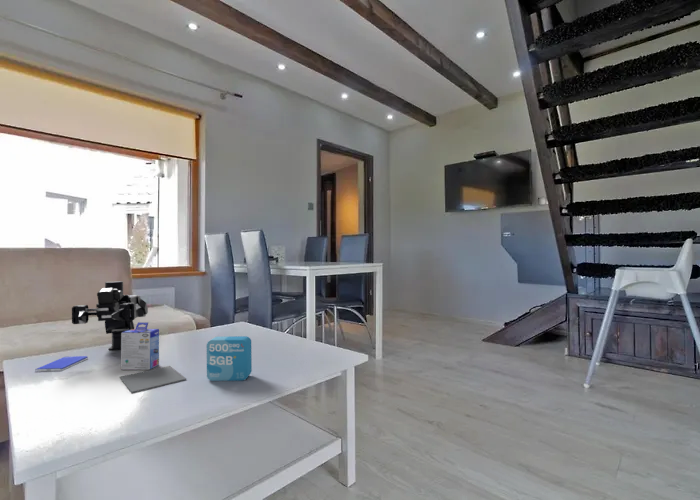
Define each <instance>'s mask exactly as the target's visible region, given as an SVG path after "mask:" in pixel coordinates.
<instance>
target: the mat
mask: <svg viewBox="0 0 700 500" xmlns="http://www.w3.org/2000/svg"><path fill="white" fill-rule="evenodd" d="M119 379H120V380H121V382H122V383H123V384H124V386H126V388H127V390H129V392H130V393H131V394H135V393H138V392H143V391H146V390H151V389H155V388H160V387H164V386H167V385H172V384H175V383H179V382H183V381H187V378H186V377H185V376H184V375H182V374H181V373H180V372H178V371H177V370H176V369H175V368H173V367H172V366H171V365H167V366H163V367H157V368H152V369H150V370H142V371H139V372H136V373H135V372H134V373H129V374H124V375H120V376H119Z"/></svg>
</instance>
